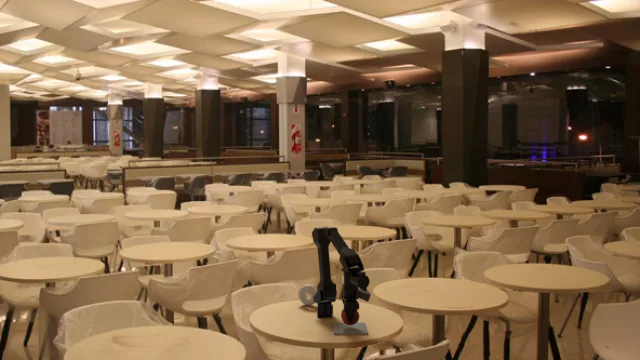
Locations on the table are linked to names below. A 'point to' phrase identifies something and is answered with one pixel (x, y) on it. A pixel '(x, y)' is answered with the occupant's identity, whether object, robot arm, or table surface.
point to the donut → (303, 298)
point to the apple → (345, 319)
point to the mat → (350, 329)
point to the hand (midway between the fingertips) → (349, 319)
